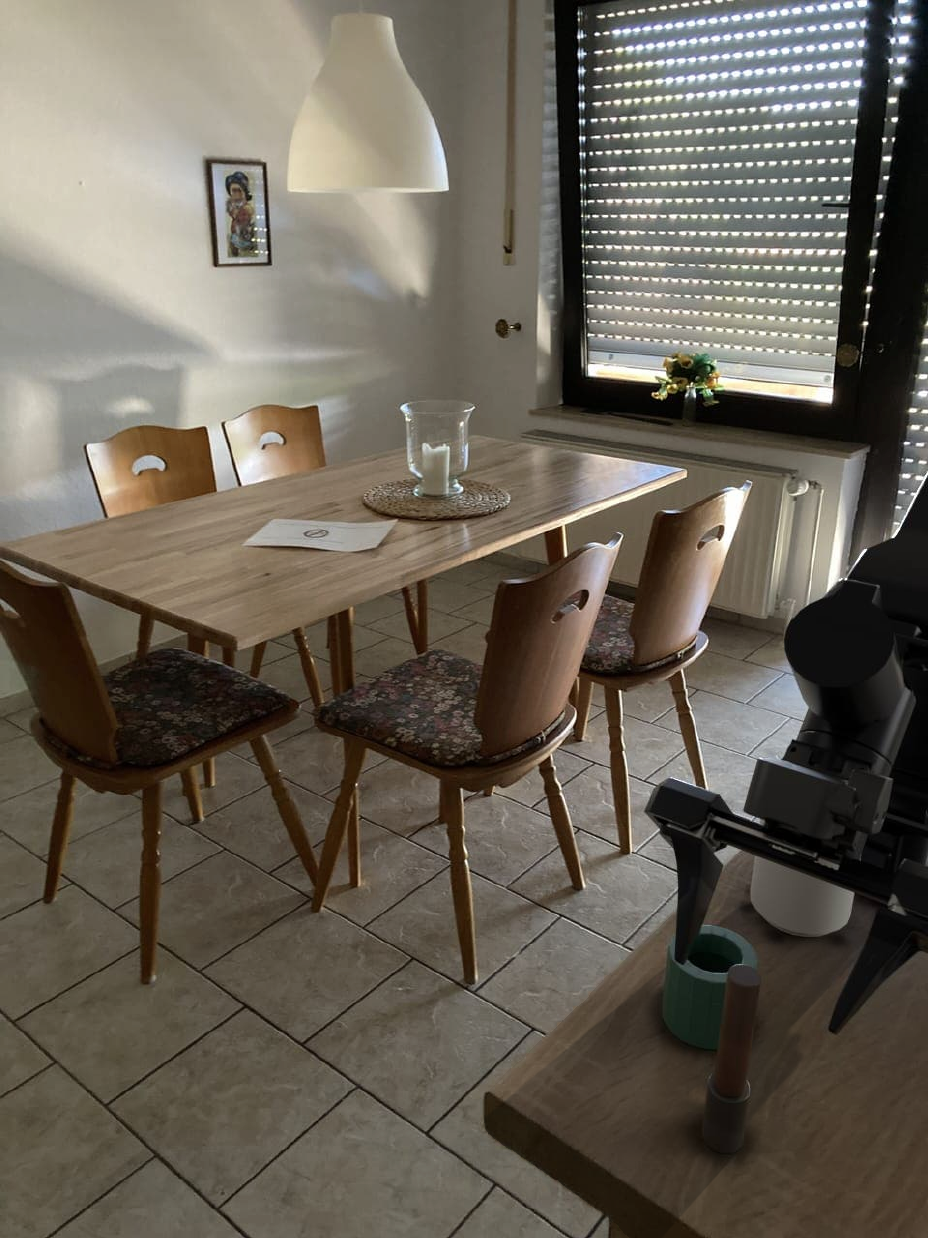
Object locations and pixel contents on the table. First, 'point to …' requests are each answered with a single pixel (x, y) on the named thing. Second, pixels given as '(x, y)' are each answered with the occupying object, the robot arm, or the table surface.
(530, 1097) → the table surface
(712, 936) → the teal hollow cylinder
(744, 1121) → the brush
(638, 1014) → the table surface
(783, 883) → the can
